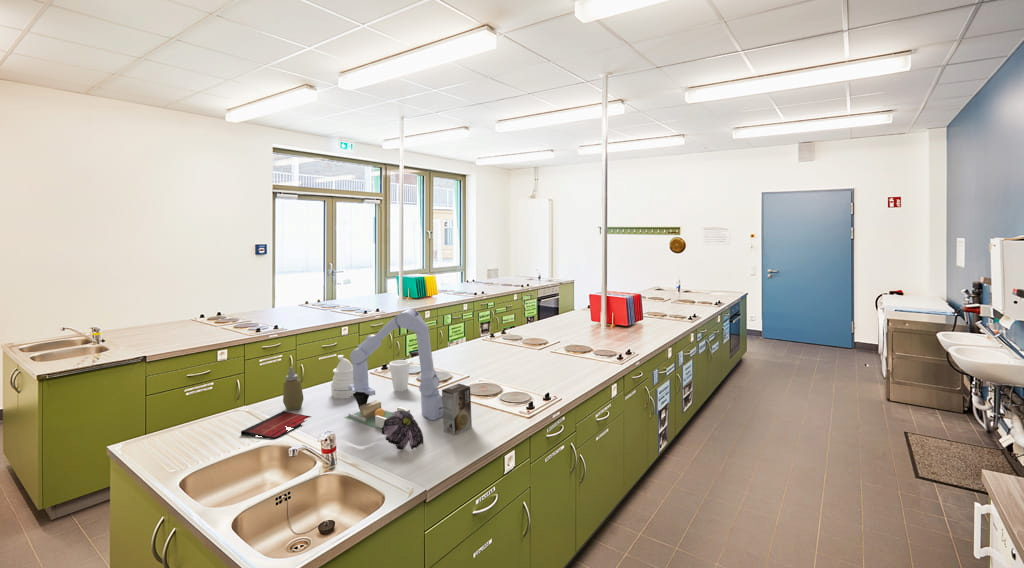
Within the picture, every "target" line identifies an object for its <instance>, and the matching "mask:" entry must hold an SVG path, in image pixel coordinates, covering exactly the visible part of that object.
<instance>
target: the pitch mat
mask: <svg viewBox="0 0 1024 568" xmlns="http://www.w3.org/2000/svg"><path fill="white" fill-rule="evenodd" d="M383 410H384V409H383ZM384 411H385V416H384V418H388V417H391V416H393V415H392V413H393V412H392V411H389V410H384ZM343 418H345V419H348V420H351V421H353V422H357V423H359V424H363V425H364V426H365V425H366V426H368V427H371V428H374V429H377V430H380V431H382V428H380V427H377V426H376V424H375V416H374V417H371V418H369V419H366V418H364V417H360V411H358V412H355V413H351V412H349V413H348V415H346V416H344V417H343Z"/></svg>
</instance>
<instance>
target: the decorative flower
mask: <svg viewBox="0 0 1024 568" xmlns="http://www.w3.org/2000/svg"><path fill="white" fill-rule="evenodd" d="M392 415H394V416H391V417H388V418H387V419H386V420H385V421H384V425H383V428H382V430H381V434H382V435H384V436H385V435H386V437H385V441H387V442H388V444H389V443H390V444H391V445H392V444H393V445H395V446H396V450H400V451H402V450H404V449H405V448H406V447H407V446H408V444H409V446H410V448H411V450H413V449H414V448H416V449H417V447H419V446H420V445H421V444H422V445H424V435H423V432H422V429H421V427H420V426H419V424H418V422H417V420H416V419H414V415H413V414H411V412H410V413H409V412H407V411H403V410H400V411H397V410H396V411H393V412H392Z"/></svg>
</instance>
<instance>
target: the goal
mask: <svg viewBox="0 0 1024 568" xmlns="http://www.w3.org/2000/svg"><path fill="white" fill-rule="evenodd" d="M396 409H397V410H396V411H400V410H403V411H407V412H409V413H410V414H411V410H410V409H409V408H405V407H401V406H397V407H396ZM393 416H394V415H393ZM386 419H387V418H384V417H381V416H378V415H376V416H375V424H376V426H377V427H380V428H383V425H384V421H385V420H386Z"/></svg>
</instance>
